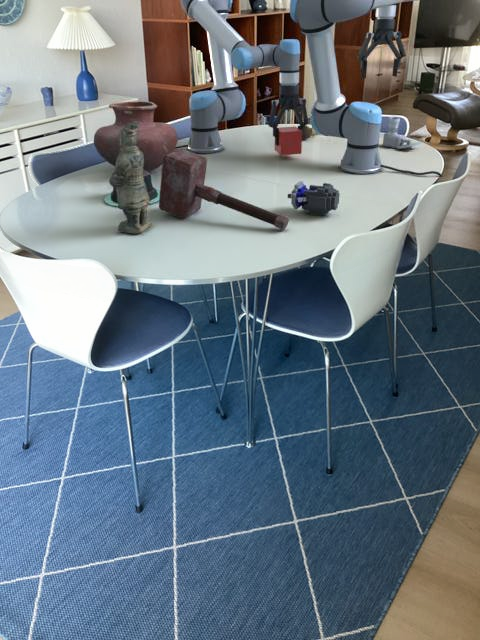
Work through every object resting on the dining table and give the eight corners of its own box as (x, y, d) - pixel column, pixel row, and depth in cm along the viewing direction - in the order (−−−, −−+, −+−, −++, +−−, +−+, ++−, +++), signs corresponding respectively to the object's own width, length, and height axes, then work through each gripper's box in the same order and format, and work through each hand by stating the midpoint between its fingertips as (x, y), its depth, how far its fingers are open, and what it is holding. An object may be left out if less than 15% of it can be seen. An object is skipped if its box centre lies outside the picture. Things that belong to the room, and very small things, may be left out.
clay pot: (187, 162, 225) (183, 96, 212) (166, 184, 199) (159, 111, 187) (116, 160, 230) (108, 96, 217) (87, 181, 204) (75, 110, 192)
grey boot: (392, 115, 240) (425, 120, 231) (389, 143, 246) (420, 148, 237) (382, 118, 234) (415, 123, 226) (379, 146, 240) (410, 152, 232)
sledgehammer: (299, 190, 156) (179, 147, 167) (285, 200, 148) (161, 154, 160) (286, 244, 166) (174, 200, 177) (272, 256, 158) (156, 209, 170)
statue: (131, 220, 168) (117, 116, 152) (158, 224, 164) (147, 118, 149) (109, 233, 159) (93, 124, 144) (138, 237, 156) (124, 126, 140)
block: (294, 148, 232) (295, 126, 227) (301, 153, 224) (302, 130, 220) (274, 150, 230) (274, 127, 226) (280, 155, 223) (281, 132, 218)
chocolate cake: (91, 202, 180) (113, 186, 197) (142, 231, 182) (160, 212, 199) (107, 162, 172) (129, 148, 190) (160, 192, 174) (177, 176, 192)
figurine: (338, 121, 266) (314, 124, 247) (336, 138, 269) (312, 141, 250) (313, 119, 272) (288, 121, 253) (312, 135, 275) (287, 138, 256)
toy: (295, 178, 172) (342, 184, 166) (295, 205, 177) (340, 211, 171) (285, 186, 166) (333, 192, 160) (284, 213, 170) (331, 220, 164)
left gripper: (312, 81, 219) (310, 140, 231) (259, 84, 216) (260, 143, 227) (318, 83, 213) (316, 143, 225) (264, 86, 209) (264, 147, 221)
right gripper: (409, 16, 222) (403, 74, 232) (351, 18, 217) (347, 77, 228) (419, 17, 215) (411, 76, 226) (359, 19, 211) (354, 79, 221)
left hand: (288, 143), depth 226 cm, fingers closed on block, 9 cm apart
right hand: (379, 77), depth 227 cm, fingers open, 13 cm apart
